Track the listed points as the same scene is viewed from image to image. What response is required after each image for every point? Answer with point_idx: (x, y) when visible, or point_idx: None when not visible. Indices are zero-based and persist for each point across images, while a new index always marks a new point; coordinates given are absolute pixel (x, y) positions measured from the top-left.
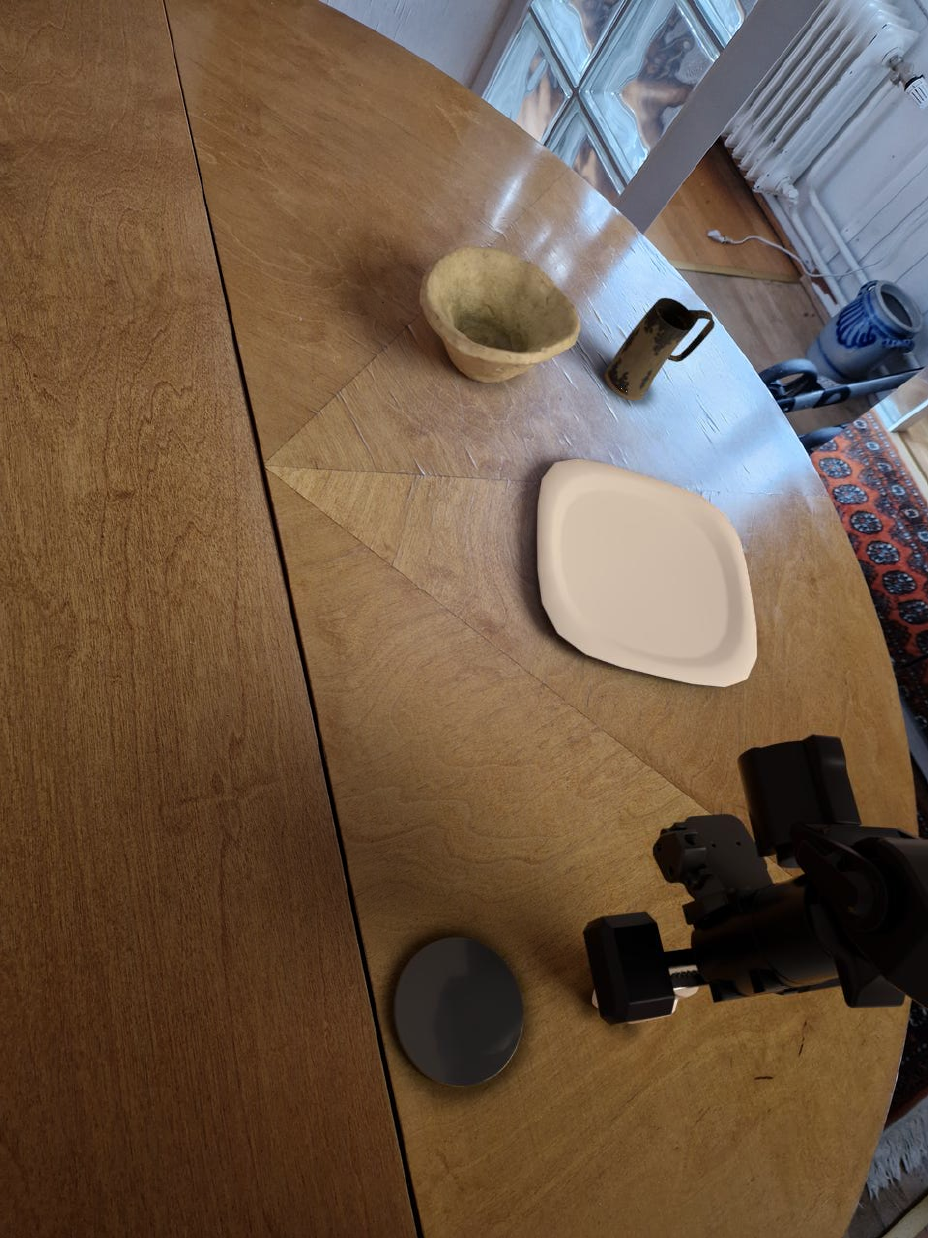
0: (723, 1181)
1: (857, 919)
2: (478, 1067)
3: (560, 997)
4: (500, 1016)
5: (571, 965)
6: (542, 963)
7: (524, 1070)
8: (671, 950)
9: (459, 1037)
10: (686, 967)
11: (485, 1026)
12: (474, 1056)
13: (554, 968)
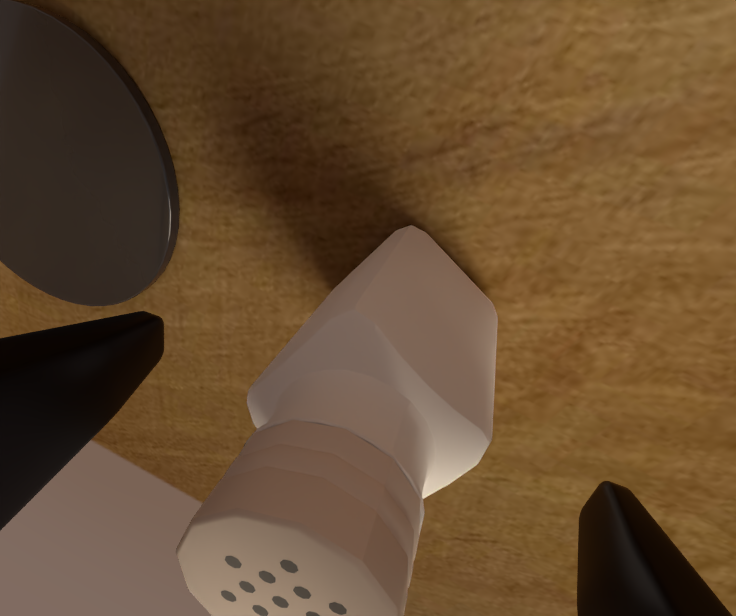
0: (450, 601)
1: None
2: (70, 281)
3: (274, 248)
4: (119, 224)
5: (327, 198)
6: (254, 161)
7: (167, 321)
8: (278, 509)
9: (37, 221)
10: (315, 604)
11: (89, 226)
12: (65, 262)
13: (281, 185)
